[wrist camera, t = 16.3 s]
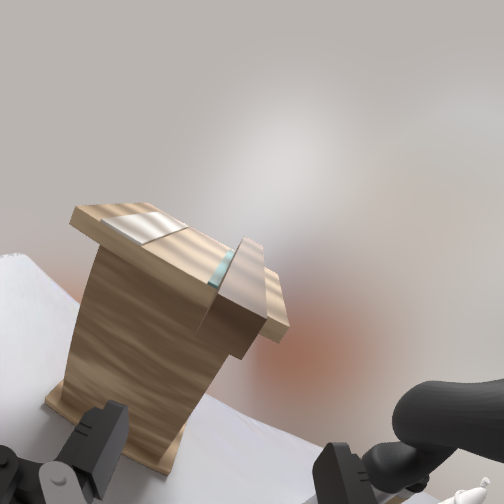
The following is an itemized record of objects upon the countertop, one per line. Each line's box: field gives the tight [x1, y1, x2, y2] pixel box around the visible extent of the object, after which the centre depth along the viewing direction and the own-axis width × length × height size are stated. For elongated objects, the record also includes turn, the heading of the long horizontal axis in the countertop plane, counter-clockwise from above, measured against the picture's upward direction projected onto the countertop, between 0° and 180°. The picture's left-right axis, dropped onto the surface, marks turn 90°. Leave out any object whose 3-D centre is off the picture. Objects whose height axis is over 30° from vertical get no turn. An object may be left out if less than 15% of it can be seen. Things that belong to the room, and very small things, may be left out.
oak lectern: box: [45, 203, 289, 476], centre depth 38 cm, size 20×24×32 cm
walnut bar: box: [194, 236, 267, 360], centre depth 28 cm, size 26×3×3 cm, turn 178°
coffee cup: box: [384, 475, 429, 504], centre depth 35 cm, size 9×9×15 cm
